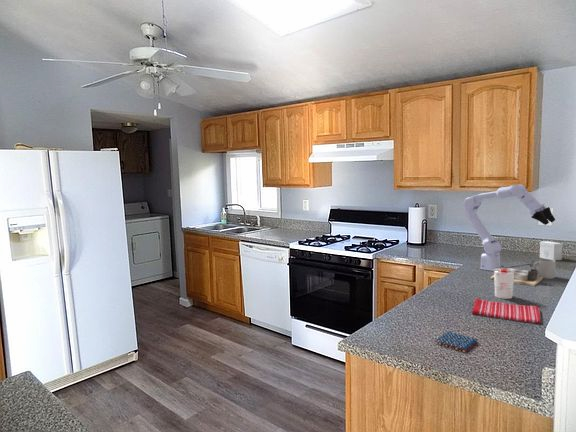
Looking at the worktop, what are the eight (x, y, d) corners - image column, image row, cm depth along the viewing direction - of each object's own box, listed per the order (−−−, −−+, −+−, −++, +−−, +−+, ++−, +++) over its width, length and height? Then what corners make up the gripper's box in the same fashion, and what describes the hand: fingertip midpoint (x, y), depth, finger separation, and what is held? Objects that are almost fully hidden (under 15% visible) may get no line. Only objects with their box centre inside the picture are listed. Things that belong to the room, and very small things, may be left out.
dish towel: (475, 303, 171) (475, 297, 171) (539, 311, 159) (540, 305, 158) (470, 315, 156) (470, 309, 156) (541, 326, 144) (541, 319, 144)
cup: (554, 279, 201) (555, 262, 200) (531, 277, 207) (532, 260, 206) (555, 276, 207) (556, 259, 206) (533, 274, 213) (533, 257, 212)
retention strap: (499, 271, 208) (498, 267, 208) (501, 270, 210) (500, 266, 210) (532, 267, 197) (530, 262, 197) (533, 266, 199) (532, 261, 199)
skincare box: (562, 260, 243) (562, 243, 242) (553, 260, 241) (554, 244, 240) (547, 256, 253) (547, 240, 252) (539, 257, 251) (539, 241, 250)
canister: (505, 300, 171) (506, 274, 170) (487, 295, 179) (488, 270, 177) (519, 297, 176) (520, 270, 174) (501, 292, 183) (502, 267, 182)
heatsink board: (490, 279, 205) (490, 268, 205) (500, 273, 216) (500, 262, 216) (534, 286, 191) (534, 274, 190) (542, 279, 202) (543, 268, 202)
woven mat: (447, 335, 138) (447, 329, 138) (479, 344, 131) (479, 338, 130) (433, 344, 131) (433, 339, 131) (465, 354, 124) (465, 348, 123)
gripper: (530, 199, 200) (551, 220, 194) (542, 195, 208) (562, 215, 202) (519, 208, 205) (539, 228, 199) (532, 204, 213) (551, 223, 207)
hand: (550, 222), depth 201 cm, fingers open, 7 cm apart
